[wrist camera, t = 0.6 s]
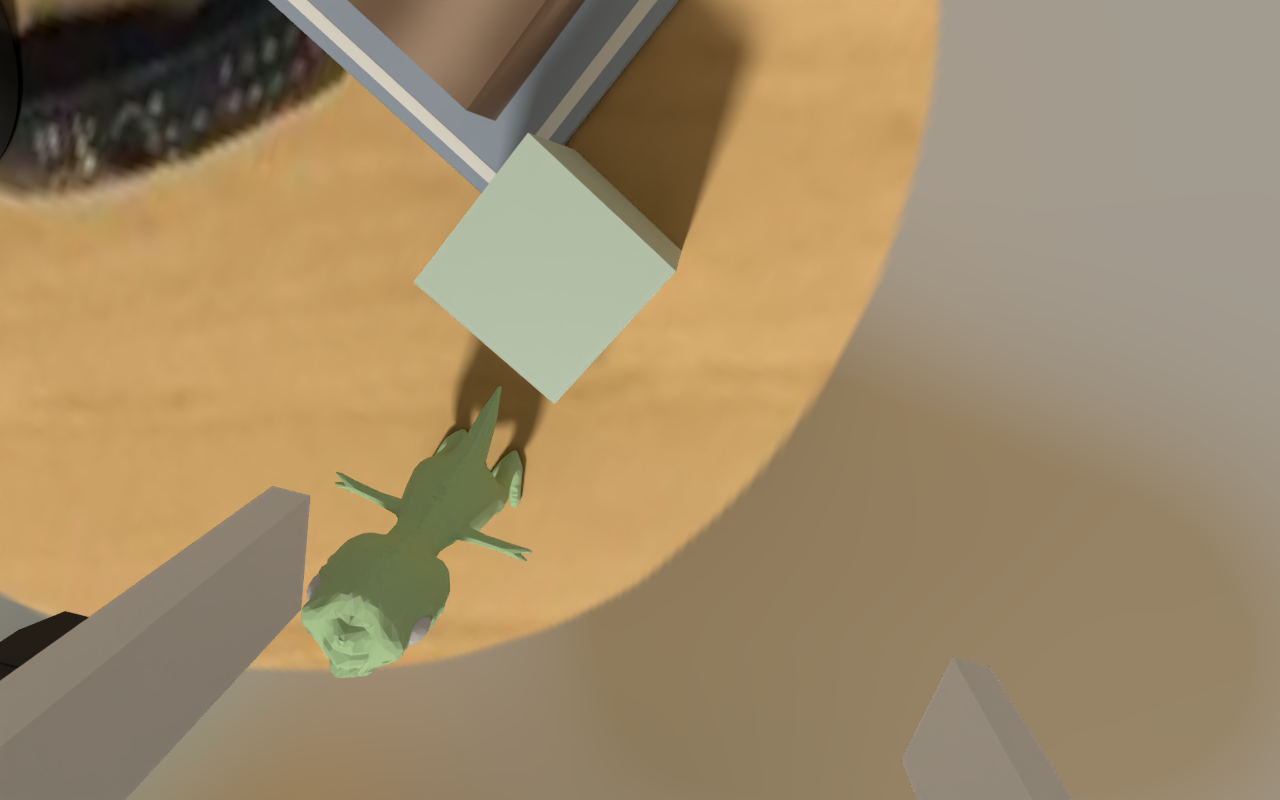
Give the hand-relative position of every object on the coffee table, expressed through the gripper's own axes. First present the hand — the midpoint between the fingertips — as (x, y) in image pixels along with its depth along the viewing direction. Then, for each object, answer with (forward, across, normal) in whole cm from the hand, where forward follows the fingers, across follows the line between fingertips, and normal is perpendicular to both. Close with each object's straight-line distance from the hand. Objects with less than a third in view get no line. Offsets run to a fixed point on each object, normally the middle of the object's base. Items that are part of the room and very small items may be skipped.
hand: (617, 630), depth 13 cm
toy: (+22, -8, -8) cm, 25 cm away
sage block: (+22, -5, +4) cm, 23 cm away
